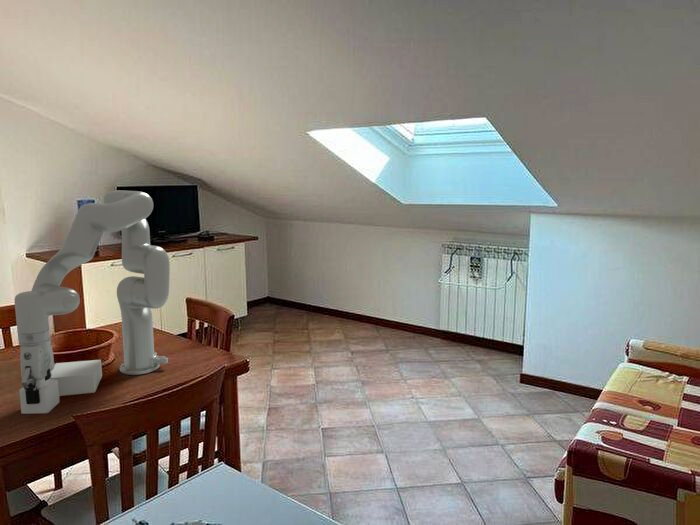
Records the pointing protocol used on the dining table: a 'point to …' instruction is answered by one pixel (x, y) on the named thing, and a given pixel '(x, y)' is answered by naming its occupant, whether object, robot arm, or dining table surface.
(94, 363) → the grey block
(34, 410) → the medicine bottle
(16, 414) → the dining table surface
